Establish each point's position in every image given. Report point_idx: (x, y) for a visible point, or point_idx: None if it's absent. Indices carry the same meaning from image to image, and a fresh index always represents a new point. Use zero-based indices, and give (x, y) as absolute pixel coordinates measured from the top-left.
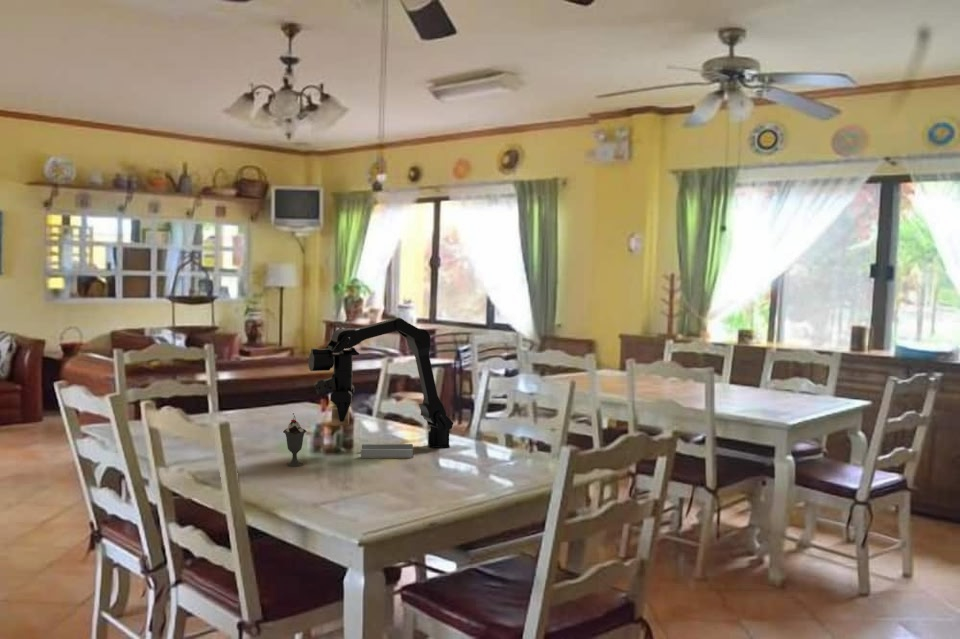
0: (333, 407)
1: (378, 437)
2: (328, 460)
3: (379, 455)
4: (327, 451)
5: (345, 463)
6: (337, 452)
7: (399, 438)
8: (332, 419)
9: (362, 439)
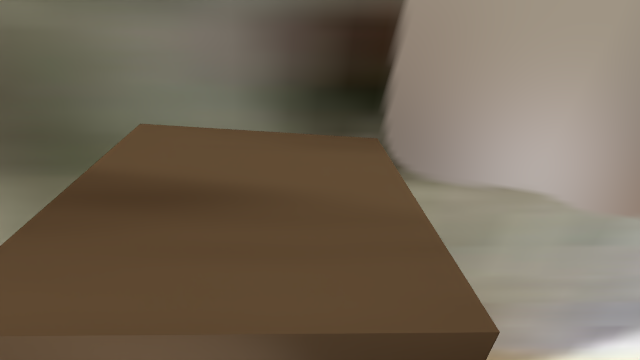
0: (312, 348)
1: (626, 283)
2: (98, 30)
3: None
4: (379, 26)
5: (37, 140)
6: (340, 94)
7: (565, 347)
8: (99, 171)
9: (622, 223)
